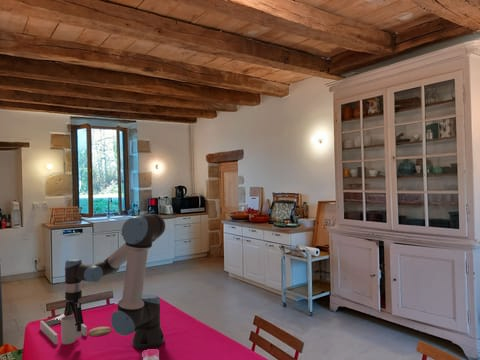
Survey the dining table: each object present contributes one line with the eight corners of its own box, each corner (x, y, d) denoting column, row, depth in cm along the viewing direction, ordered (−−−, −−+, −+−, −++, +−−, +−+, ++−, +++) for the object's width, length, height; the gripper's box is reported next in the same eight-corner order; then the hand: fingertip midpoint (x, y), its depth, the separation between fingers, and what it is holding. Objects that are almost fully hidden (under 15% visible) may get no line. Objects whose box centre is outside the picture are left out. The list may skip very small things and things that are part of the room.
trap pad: (62, 323, 211) (62, 321, 211) (47, 326, 206) (47, 325, 206) (58, 319, 217) (58, 318, 217) (43, 322, 212) (43, 321, 212)
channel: (87, 335, 194) (86, 326, 194) (55, 344, 183) (55, 335, 183) (70, 321, 213) (69, 313, 213) (40, 329, 203) (40, 321, 203)
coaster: (114, 331, 198) (114, 330, 198) (93, 338, 191) (93, 336, 191) (106, 325, 206) (106, 324, 206) (85, 331, 199) (85, 330, 199)
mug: (66, 345, 182) (66, 321, 182) (58, 343, 185) (57, 318, 185) (84, 338, 191) (84, 314, 191) (75, 335, 194) (75, 312, 194)
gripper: (90, 294, 179) (90, 339, 179) (72, 283, 197) (72, 323, 198) (74, 298, 174) (74, 343, 174) (57, 286, 192) (57, 327, 192)
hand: (73, 333), depth 186 cm, fingers open, 13 cm apart
